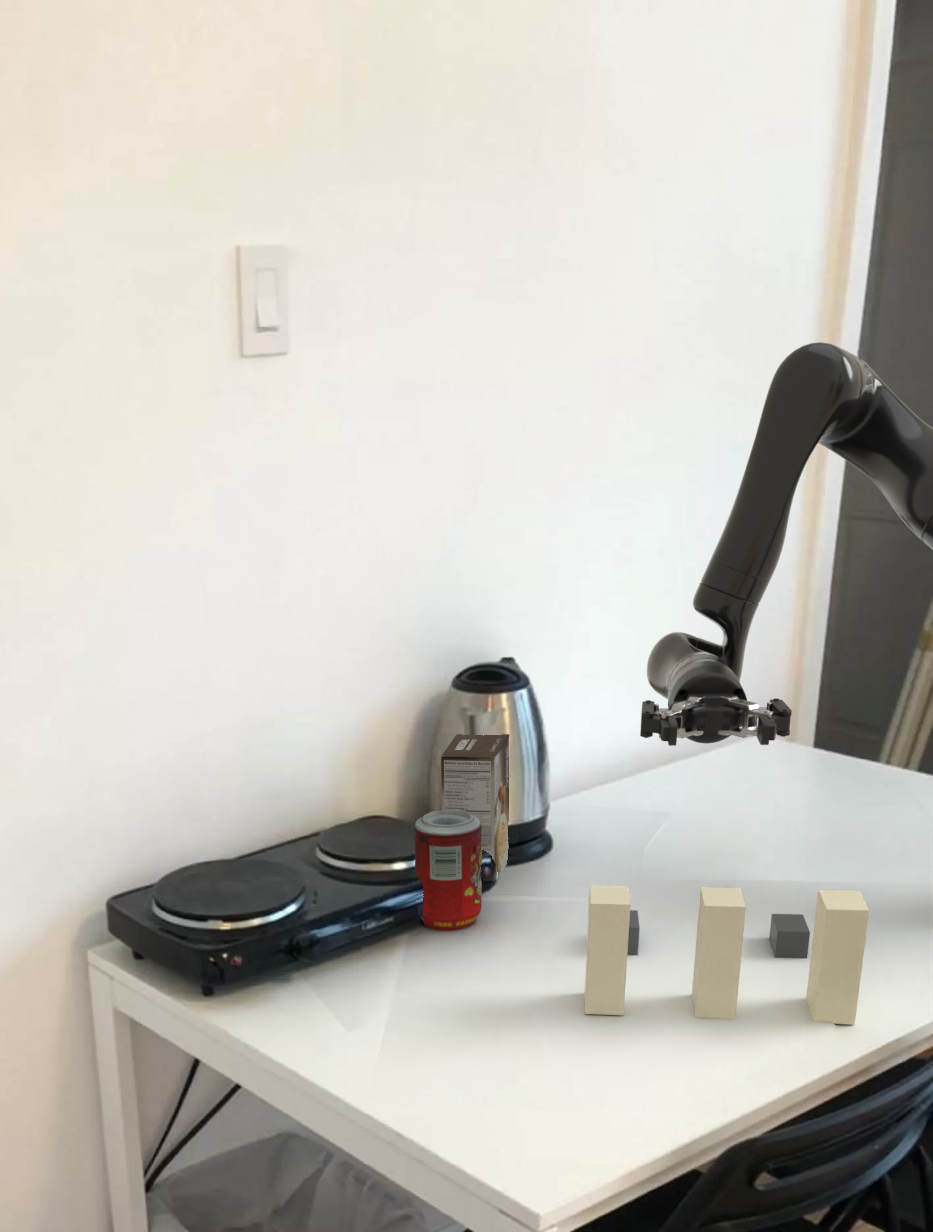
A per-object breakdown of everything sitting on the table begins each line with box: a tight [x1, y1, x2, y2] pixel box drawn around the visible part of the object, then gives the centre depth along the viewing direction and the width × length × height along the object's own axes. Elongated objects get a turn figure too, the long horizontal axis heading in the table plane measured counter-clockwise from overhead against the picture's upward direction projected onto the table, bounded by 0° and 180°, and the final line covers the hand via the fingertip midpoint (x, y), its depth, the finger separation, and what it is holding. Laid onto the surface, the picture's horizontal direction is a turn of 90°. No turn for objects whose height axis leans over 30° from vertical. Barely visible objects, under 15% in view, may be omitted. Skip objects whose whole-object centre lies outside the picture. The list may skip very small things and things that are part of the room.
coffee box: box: [440, 733, 510, 882], centre depth 173 cm, size 9×6×16 cm
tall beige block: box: [691, 886, 747, 1020], centre depth 137 cm, size 4×5×11 cm
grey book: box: [627, 909, 641, 956], centre depth 152 cm, size 3×5×4 cm, turn 167°
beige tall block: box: [805, 889, 870, 1026], centre depth 134 cm, size 4×5×11 cm
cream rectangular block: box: [584, 884, 631, 1016], centre depth 139 cm, size 4×5×11 cm
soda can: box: [413, 809, 483, 932], centre depth 160 cm, size 7×7×12 cm
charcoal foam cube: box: [768, 913, 811, 959], centre depth 148 cm, size 3×5×4 cm, turn 167°
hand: (719, 735), depth 144 cm, fingers open, 8 cm apart
